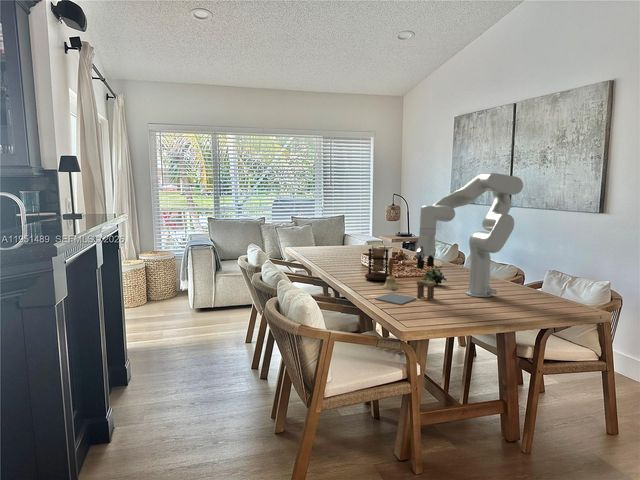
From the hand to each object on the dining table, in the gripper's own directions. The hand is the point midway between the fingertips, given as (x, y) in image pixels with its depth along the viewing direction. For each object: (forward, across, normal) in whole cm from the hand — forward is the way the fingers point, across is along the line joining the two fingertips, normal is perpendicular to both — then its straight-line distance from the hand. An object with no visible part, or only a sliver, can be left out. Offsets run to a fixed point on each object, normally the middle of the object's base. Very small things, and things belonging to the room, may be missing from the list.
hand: (425, 267), depth 198 cm
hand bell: (+15, -8, -23) cm, 29 cm away
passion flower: (+15, -29, -9) cm, 34 cm away
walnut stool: (+15, -1, +1) cm, 15 cm away
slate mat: (+15, +11, -8) cm, 21 cm away
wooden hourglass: (+15, -20, -39) cm, 47 cm away
